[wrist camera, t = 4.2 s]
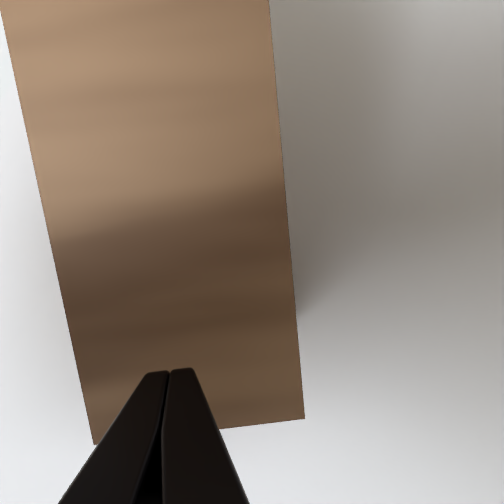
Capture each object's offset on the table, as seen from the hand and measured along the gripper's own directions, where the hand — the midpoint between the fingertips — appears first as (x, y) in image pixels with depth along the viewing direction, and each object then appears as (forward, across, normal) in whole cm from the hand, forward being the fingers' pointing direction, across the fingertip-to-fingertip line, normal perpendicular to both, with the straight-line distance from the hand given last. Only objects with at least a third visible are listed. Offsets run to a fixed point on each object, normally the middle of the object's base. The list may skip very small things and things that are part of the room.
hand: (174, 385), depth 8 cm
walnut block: (+4, 0, +4) cm, 5 cm away
